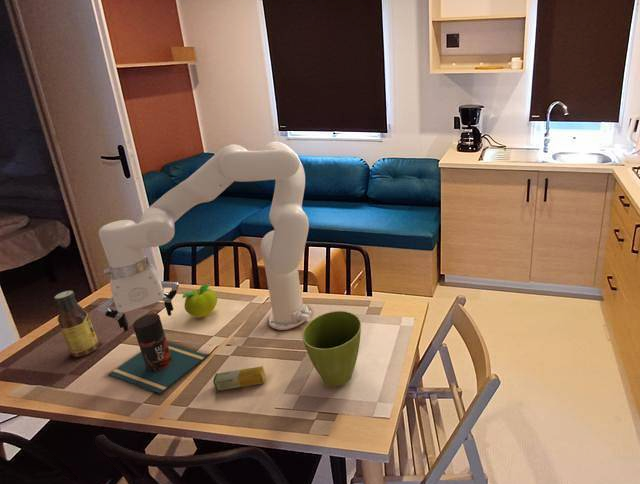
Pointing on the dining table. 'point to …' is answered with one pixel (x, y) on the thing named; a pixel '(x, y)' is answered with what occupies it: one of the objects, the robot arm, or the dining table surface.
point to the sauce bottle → (75, 325)
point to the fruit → (200, 301)
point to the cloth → (164, 378)
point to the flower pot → (333, 345)
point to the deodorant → (152, 342)
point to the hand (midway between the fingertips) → (148, 320)
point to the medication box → (239, 378)
